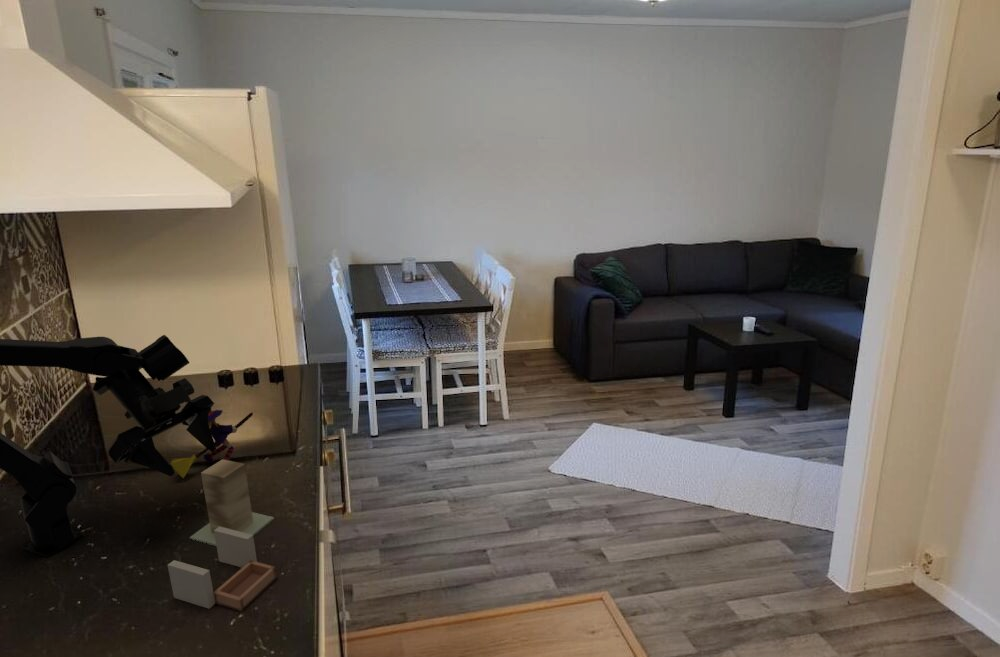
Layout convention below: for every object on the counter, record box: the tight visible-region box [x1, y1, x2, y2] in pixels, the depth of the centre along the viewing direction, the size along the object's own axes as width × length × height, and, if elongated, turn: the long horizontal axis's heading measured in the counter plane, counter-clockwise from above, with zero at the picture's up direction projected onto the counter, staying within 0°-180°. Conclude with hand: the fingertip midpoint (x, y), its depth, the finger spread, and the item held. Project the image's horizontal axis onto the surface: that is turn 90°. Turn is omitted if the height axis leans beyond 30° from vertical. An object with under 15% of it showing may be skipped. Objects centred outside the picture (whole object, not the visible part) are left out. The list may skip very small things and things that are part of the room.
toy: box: [170, 409, 254, 479], centre depth 132 cm, size 8×19×15 cm, turn 118°
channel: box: [167, 526, 258, 609], centre depth 99 cm, size 7×10×6 cm
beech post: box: [200, 458, 253, 533], centre depth 111 cm, size 5×5×12 cm
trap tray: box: [213, 560, 278, 612], centre depth 97 cm, size 5×8×2 cm, turn 159°
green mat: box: [189, 511, 275, 547], centre depth 113 cm, size 10×10×1 cm
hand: (194, 462), depth 112 cm, fingers open, 9 cm apart
